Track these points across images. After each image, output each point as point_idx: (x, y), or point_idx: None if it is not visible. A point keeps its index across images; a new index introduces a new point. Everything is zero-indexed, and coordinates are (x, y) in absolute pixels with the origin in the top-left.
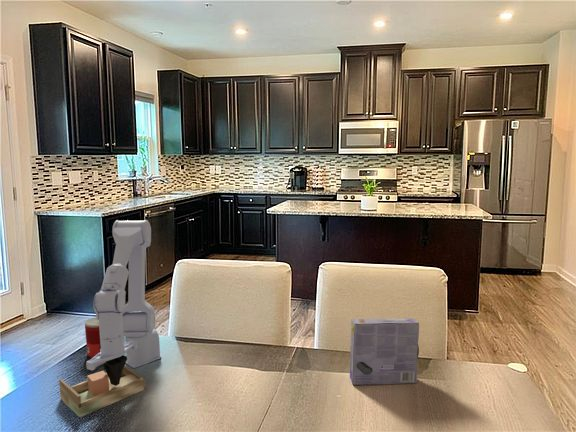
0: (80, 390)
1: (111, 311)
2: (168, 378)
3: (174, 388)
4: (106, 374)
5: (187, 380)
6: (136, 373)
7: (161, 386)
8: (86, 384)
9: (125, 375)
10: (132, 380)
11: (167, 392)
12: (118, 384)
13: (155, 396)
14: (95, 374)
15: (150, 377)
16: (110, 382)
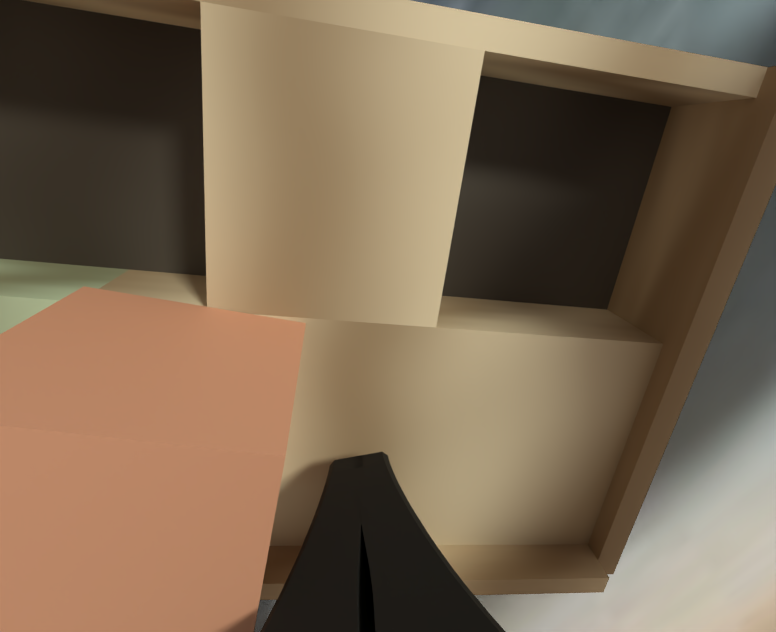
0: (91, 6)
1: None
2: (758, 485)
3: (652, 606)
4: (251, 624)
5: (770, 585)
6: (671, 429)
7: (640, 537)
8: (167, 10)
9: (662, 166)
10: (551, 477)
11: (593, 614)
12: (416, 444)
13: (519, 605)
14: (70, 501)
15: (729, 369)
16: (327, 475)
